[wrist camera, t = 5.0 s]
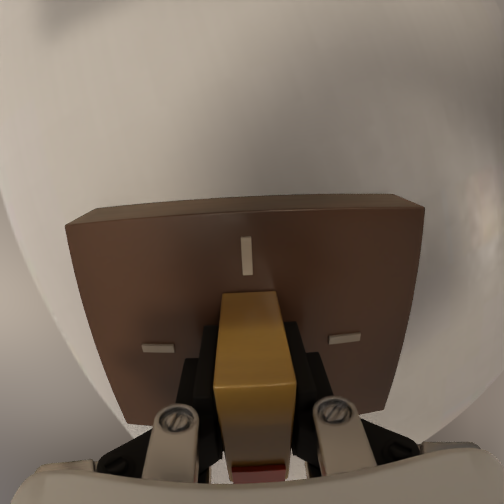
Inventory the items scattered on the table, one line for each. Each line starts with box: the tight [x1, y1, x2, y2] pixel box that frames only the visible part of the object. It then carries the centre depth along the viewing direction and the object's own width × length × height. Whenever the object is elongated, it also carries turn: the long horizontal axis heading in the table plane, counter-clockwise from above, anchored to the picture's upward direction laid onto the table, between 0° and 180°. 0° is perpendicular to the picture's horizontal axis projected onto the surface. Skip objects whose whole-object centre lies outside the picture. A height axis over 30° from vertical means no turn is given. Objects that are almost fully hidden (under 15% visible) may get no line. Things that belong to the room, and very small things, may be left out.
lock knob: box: [213, 291, 297, 484], centre depth 10 cm, size 5×2×5 cm, turn 2°
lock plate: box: [65, 194, 425, 426], centre depth 14 cm, size 14×11×3 cm
